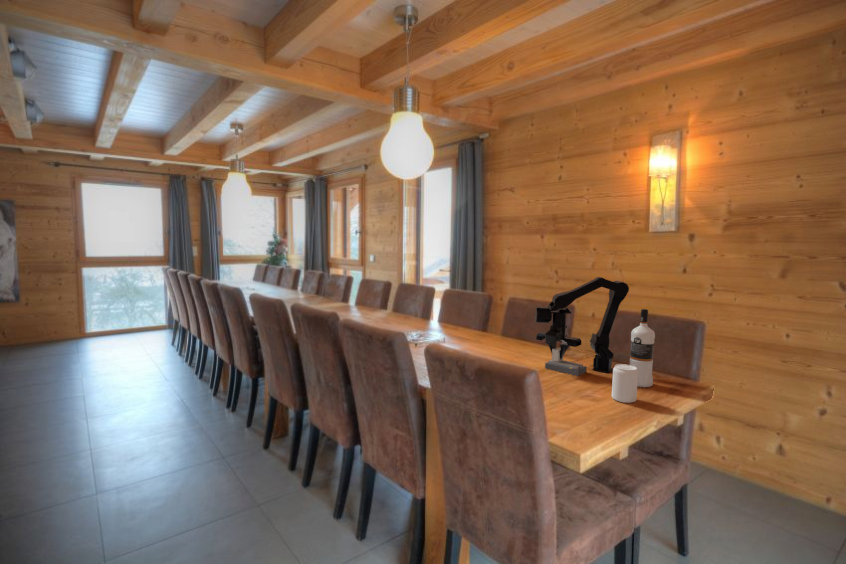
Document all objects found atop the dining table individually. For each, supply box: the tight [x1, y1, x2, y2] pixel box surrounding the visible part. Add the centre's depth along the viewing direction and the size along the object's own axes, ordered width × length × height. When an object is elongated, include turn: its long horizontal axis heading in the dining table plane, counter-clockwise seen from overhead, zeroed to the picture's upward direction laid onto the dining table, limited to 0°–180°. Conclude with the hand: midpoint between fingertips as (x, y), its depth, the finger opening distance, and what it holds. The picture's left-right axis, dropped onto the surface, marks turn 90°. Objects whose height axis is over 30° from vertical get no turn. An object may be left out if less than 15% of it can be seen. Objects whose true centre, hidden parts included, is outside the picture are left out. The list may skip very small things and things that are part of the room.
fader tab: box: [551, 346, 564, 362], centre depth 196 cm, size 3×4×6 cm
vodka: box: [629, 308, 656, 388], centre depth 176 cm, size 9×9×30 cm
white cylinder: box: [611, 363, 638, 404], centre depth 160 cm, size 8×8×12 cm
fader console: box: [544, 359, 587, 377], centre depth 194 cm, size 15×8×4 cm, turn 46°
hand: (557, 358), depth 196 cm, fingers closed on fader tab, 3 cm apart
